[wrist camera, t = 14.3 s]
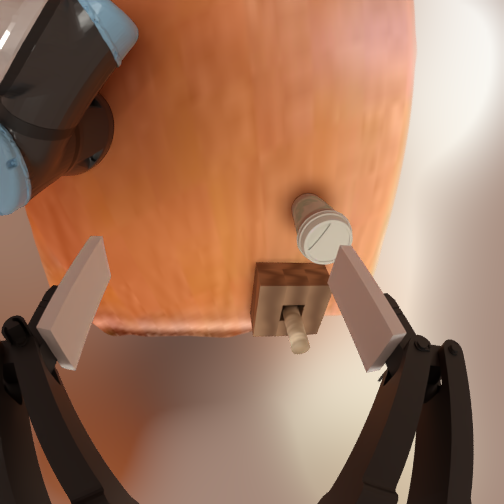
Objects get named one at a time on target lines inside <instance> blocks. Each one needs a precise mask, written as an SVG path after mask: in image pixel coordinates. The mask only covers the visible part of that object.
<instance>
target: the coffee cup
mask: <svg viewBox="0 0 504 504" xmlns="http://www.w3.org/2000/svg"><path fill="white" fill-rule="evenodd" d="M292 215H293V219H294V223H295V228H296V232H297V245H298V248H299V250H300V252H301V253H302V254H303V255H304V256H305V257H306V258H307V259H309V260H311V261H312V262H314V263H316V264H323V265H324V264H331V263H334V262H335V259H336V256H337V252H338V249H339V246H340V245H348V246H351V244H352V228H351V225H350V223H349V221H348V219H347V218H346V217H345V216H344V215H343V214H341V213H339V212H337V211H335V210H334V209H333V208H332V207H331V206H329V205H328V204H327V203H326V202H324V201H323V200H322V199H321V198H319V197H318V196H317V195H315V194H311V193H307V194H303V195H301V196H299V197H298V198H297V199H296V200H295V201H294V203H293V205H292Z"/></svg>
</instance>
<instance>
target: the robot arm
mask: <svg viewBox="0 0 504 504" xmlns="http://www.w3.org/2000/svg"><path fill="white" fill-rule="evenodd" d="M137 39H138V28H137V26H136V25H135V23H134V22H133V21H132V20H131V19H130V18H129V17H128V16H127V15H126V14H125V13H124V12H123V11H122V10H121V9H120V8H119V7H118V6H116V5H115V4H114V3H113V2H112V1H110V0H0V215H9V214H11V213H13V212H14V211H16V210H18V209H19V208H21V207H23V206H25V205H26V204H27V203H28V202H29V200H31V199H32V198H33V197H34V196H36V195H37V194H38V193H39V192H41V191H42V190H43V189H45V188H46V187H47V186H49V185H50V184H51V183H53V182H54V181H56V180H57V179H58V178H60V177H61V176H71V175H78V174H82V173H84V172H86V171H88V170H90V169H91V168H93V167H94V166H95V165H97V164H98V163H99V162H100V161H101V160H102V159H103V158H104V156H105V155H106V153H107V151H108V149H109V147H110V145H111V142H112V138H113V131H114V122H113V116H112V112H111V109H110V107H109V105H108V103H107V102H106V100H105V99H104V98H103V97H102V96H101V95H100V94H98V92H99V91H100V89H101V88H102V86H103V85H104V83H105V82H106V81H107V79H108V78H109V77H110V75H111V74H112V73H113V71H114V70H115V69H116V67H119V66H120V65H121V61H122V60H123V58H124V57H125V56H126V54H127V53H128V52H129V51H130V49H131V48H132V47H133V46H134V44H135V43H136V41H137ZM110 278H111V273H110V269H109V265H108V261H107V256H106V252H105V247H104V242H103V237H102V236H90V238H89V239H88V240H87V242H86V243H85V245H84V246H83V248H82V249H81V251H80V252H79V254H78V255H77V257H76V258H75V260H74V261H73V263H72V264H71V266H70V268H69V269H68V271H67V272H66V274H65V276H64V277H63V279H62V281H61V282H60V284H59V286H56V285H53V286H52V287H51V288H50V289H49V290H48V291H47V292H46V293H45V295H44V297H43V299H42V301H41V302H40V304H39V305H38V307H37V309H36V311H35V313H34V315H33V316H32V318H31V320H30V322H29V324H28V325H27V323H26V322H25V320H24V318H23V317H21V316H13V317H10V318H9V319H8V320H7V321H6V322H5V323H4V325H3V327H2V334H3V336H4V338H5V339H6V340H5V341H0V504H51V501H50V499H49V496H48V493H47V490H46V487H45V484H44V481H43V478H42V474H41V471H40V467H39V464H38V460H37V456H36V451H35V447H34V442H33V437H32V432H31V426H30V420H31V422H32V425H33V428H34V430H35V432H36V435H37V438H38V440H39V442H40V444H41V447H42V449H43V451H44V453H45V455H46V458H47V460H48V461H49V464H50V466H51V468H52V469H53V471H54V473H55V475H56V477H57V479H58V481H59V482H60V484H61V486H62V487H63V489H64V491H65V492H66V494H67V496H68V497H69V499H70V501H71V504H139V503H138V502H137V501H136V500H134V499H133V498H132V497H131V496H130V495H129V494H128V493H127V492H126V490H125V489H124V488H123V486H122V485H121V484H120V483H119V481H118V480H117V478H116V477H115V476H114V474H113V473H112V472H111V470H110V469H109V467H108V466H107V464H106V463H105V462H104V460H103V459H102V457H101V455H100V454H99V452H98V451H97V449H96V447H95V446H94V444H93V442H92V441H91V439H90V437H89V435H88V434H87V432H86V430H85V428H84V427H83V425H82V423H81V421H80V419H79V417H78V415H77V413H76V411H75V410H74V407H73V405H72V403H71V401H70V399H69V397H68V395H67V393H66V390H65V388H64V386H63V383H62V381H61V378H60V376H59V373H58V371H57V369H56V368H55V364H56V361H58V362H59V364H60V365H61V367H63V368H67V369H71V370H76V367H77V364H78V361H79V358H80V355H81V352H82V349H83V346H84V343H85V340H86V337H87V335H88V332H89V329H90V327H91V324H92V321H93V319H94V316H95V314H96V311H97V309H98V306H99V304H100V301H101V299H102V296H103V294H104V292H105V289H106V287H107V285H108V283H109V280H110ZM327 283H328V285H329V287H330V289H331V292H332V294H333V296H334V298H335V300H336V302H337V305H338V307H339V309H340V311H341V313H342V316H343V318H344V320H345V322H346V325H347V327H348V329H349V332H350V334H351V336H352V338H353V341H354V343H355V345H356V348H357V350H358V353H359V355H360V357H361V360H362V362H363V365H364V367H365V370H366V372H372V371H377V370H380V369H381V367H382V366H383V365H384V364H385V363H386V365H387V370H386V371H385V372H384V373H383V374H382V376H381V377H380V378H379V380H378V381H381V379H382V378H383V379H382V382H381V385H380V387H379V390H378V393H377V395H376V398H375V401H374V403H373V406H372V408H371V411H370V413H369V416H368V418H367V420H366V423H365V425H364V427H363V429H362V431H361V434H360V436H359V438H358V440H357V442H356V444H355V446H354V448H353V451H352V452H351V454H350V456H349V458H348V460H347V462H346V464H345V466H344V467H343V469H342V471H341V473H340V475H339V476H338V478H337V480H336V481H335V483H334V485H333V486H332V488H331V490H330V491H329V492H328V493H327V494H325V495H324V496H323V498H321V500H320V501H319V502H318V504H397V502H398V494H397V493H396V492H395V489H396V486H397V483H398V481H399V479H400V476H401V473H402V471H403V468H404V466H405V463H406V460H407V457H408V455H409V451H410V449H411V445H412V442H413V439H414V436H415V432H416V441H415V453H414V462H413V470H412V477H411V483H410V489H409V494H408V500H407V504H471V489H472V478H473V423H472V409H471V399H470V391H469V384H468V377H467V372H466V366H465V360H464V355H463V351H462V348H461V347H460V345H459V344H458V343H457V342H455V341H453V340H446V341H445V342H444V343H443V345H442V346H436V345H431V344H430V342H429V341H428V340H427V339H426V338H425V337H423V336H421V335H416V334H415V332H414V331H413V329H412V327H411V325H410V324H409V322H408V320H407V319H406V317H405V316H404V315H403V312H402V311H401V309H399V306H398V304H397V303H396V301H395V300H394V299H393V298H392V297H391V296H390V295H389V294H388V293H385V294H383V293H382V291H381V289H380V288H379V286H378V285H377V283H376V282H375V280H374V278H373V277H372V275H371V274H370V272H369V271H368V269H367V268H366V266H365V265H364V263H363V262H362V260H361V259H360V257H359V256H358V255H357V253H356V252H355V250H354V249H353V247H352V246H348V245H340V246H339V249H338V252H337V256H336V259H335V262H334V265H333V268H332V271H331V274H330V276H329V279H328V282H327ZM441 379H442V385H441V382H440V380H441ZM29 417H30V420H29Z"/></svg>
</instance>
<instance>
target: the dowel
mask: <svg viewBox="0 0 504 504" xmlns="http://www.w3.org/2000/svg"><path fill="white" fill-rule="evenodd" d="M282 313H283V317H284V321H285V325H286V329H287V333H288V337H289V341H290V345H291V349H292V352H293V353H294V354H302V353H305V352H307V351H308V350H309V348H310V345H309V342H308V338H307V335H306V332H305V329H304V326H303V322H302V319H301V316H300V313H299V310H298V307H297V305H283V307H282Z"/></svg>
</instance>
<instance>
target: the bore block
mask: <svg viewBox="0 0 504 504" xmlns="http://www.w3.org/2000/svg"><path fill="white" fill-rule="evenodd" d="M329 276H330V275H329V273H328V271H327V269H326V267H325V265H323V264H314V263H256V270H255V278H254V286H253V295H252V303H251V311H250V315H251V323H252V331H253V337H256V336H288V333H287V329H286V325H285V321H284V317H283V313H282V307H283V305H297V307H298V310H299V313H300V316H301V319H302V322H303V326H304V329H305V332H306V335H309V334H317V332H318V329H319V326H320V324H321V321H322V319H323V316H324V313H325V311H326V308H327V305H328V302H329V300H330V297H331V294H332V292H331V289H330V287H329V285H328V283H327V282H328V279H329Z"/></svg>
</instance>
